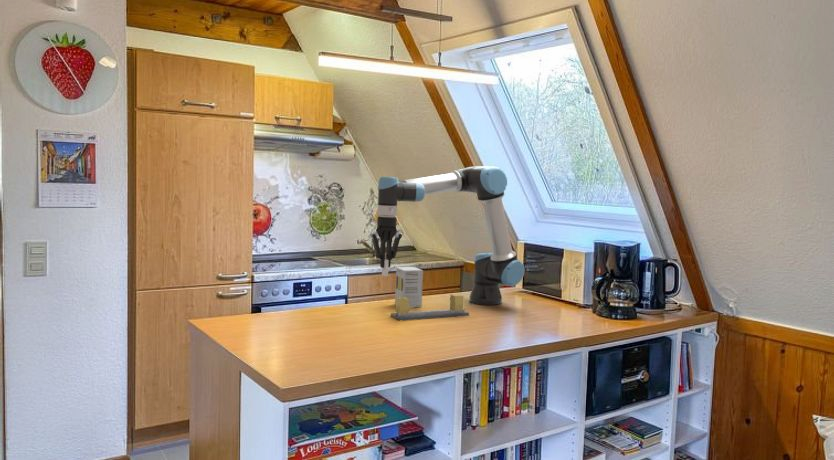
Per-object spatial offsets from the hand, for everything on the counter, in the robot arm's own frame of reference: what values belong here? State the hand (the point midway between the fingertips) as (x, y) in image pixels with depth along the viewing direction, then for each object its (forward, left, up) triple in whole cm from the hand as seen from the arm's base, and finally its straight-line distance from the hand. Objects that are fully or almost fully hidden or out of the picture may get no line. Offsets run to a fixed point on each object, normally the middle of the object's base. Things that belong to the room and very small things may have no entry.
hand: (384, 275), depth 250 cm
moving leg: (-2, +8, -16) cm, 18 cm away
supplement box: (-22, +21, -18) cm, 35 cm away
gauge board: (-2, +22, -18) cm, 28 cm away
